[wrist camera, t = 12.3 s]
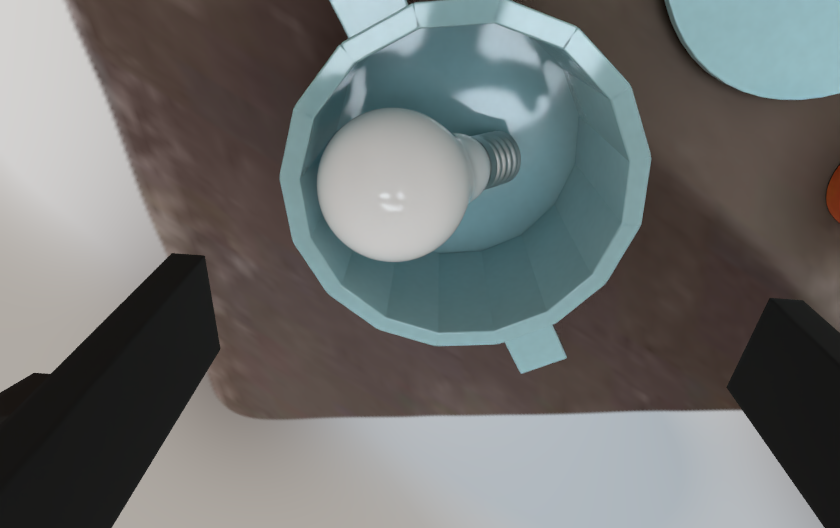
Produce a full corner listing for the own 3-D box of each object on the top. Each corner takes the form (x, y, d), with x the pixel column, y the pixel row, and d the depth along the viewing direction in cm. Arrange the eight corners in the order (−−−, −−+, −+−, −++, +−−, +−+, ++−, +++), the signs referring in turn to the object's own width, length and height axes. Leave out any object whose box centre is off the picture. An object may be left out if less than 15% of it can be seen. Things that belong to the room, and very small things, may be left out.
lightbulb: (507, 62, 24) (314, 78, 17) (587, 163, 23) (411, 225, 16) (444, 148, 29) (272, 188, 22) (506, 237, 28) (344, 308, 21)
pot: (512, -132, 22) (550, -197, 14) (635, 240, 30) (700, 325, 22) (243, 29, 25) (159, 46, 17) (419, 324, 33) (413, 421, 26)
